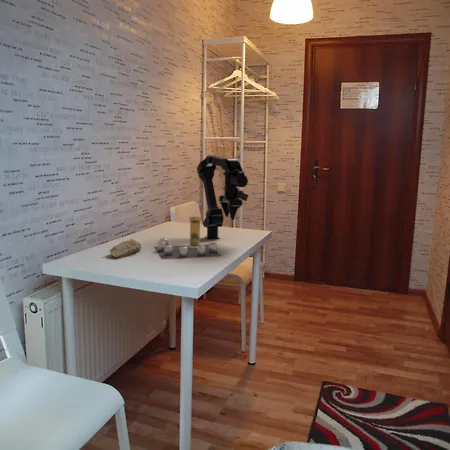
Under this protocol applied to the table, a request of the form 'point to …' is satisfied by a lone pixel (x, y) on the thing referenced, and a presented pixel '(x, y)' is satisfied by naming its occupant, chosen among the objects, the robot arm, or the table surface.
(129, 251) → the stone
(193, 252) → the mat
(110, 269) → the table surface
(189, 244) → the pad
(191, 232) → the brass sleeve
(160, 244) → the spacers
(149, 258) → the table surface
